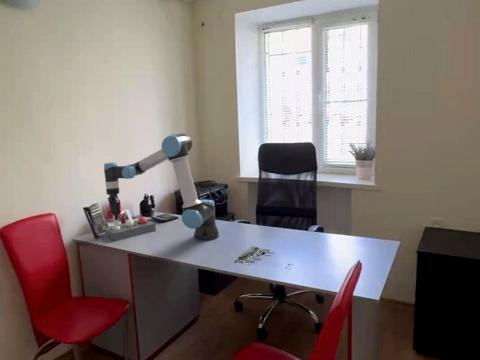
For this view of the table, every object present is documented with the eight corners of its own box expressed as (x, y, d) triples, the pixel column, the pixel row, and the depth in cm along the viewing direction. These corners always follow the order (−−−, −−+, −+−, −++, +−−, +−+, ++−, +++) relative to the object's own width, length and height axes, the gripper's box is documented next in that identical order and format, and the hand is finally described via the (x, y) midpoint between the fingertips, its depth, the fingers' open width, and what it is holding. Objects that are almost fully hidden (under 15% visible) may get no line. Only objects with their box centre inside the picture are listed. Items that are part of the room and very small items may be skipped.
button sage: (122, 233, 237) (121, 226, 236) (114, 235, 233) (113, 228, 232) (118, 232, 240) (118, 225, 239) (111, 233, 237) (110, 227, 236)
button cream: (135, 227, 242) (134, 220, 241) (127, 228, 239) (127, 222, 238) (131, 225, 246) (131, 219, 245) (124, 227, 242) (123, 220, 242)
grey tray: (155, 230, 246) (155, 223, 245) (114, 241, 228) (113, 233, 227) (144, 226, 258) (143, 218, 257) (104, 235, 240) (103, 228, 239)
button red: (147, 224, 248) (147, 217, 247) (140, 225, 245) (140, 219, 244) (144, 222, 252) (143, 216, 251) (137, 224, 248) (136, 217, 248)
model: (290, 272, 177) (290, 269, 177) (234, 262, 191) (234, 259, 190) (304, 256, 196) (304, 254, 195) (252, 249, 209) (252, 246, 209)
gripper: (122, 187, 229) (126, 225, 233) (114, 185, 239) (117, 221, 243) (111, 189, 224) (114, 227, 228) (102, 187, 234) (106, 223, 238)
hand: (116, 224), depth 236 cm, fingers closed
